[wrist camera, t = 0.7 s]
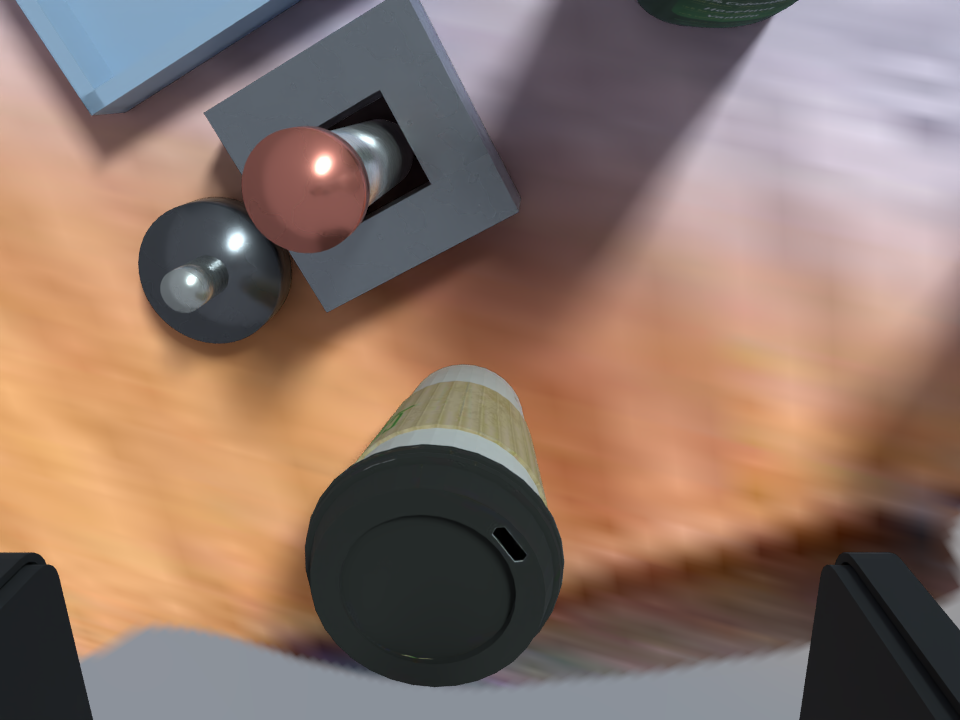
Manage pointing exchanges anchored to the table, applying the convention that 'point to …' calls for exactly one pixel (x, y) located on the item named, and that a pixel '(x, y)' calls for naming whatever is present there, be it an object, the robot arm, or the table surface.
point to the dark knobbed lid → (213, 271)
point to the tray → (139, 41)
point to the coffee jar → (714, 11)
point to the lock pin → (321, 181)
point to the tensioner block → (421, 116)
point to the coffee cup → (438, 538)
